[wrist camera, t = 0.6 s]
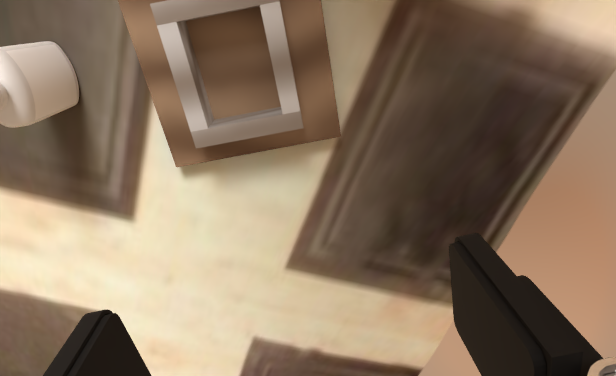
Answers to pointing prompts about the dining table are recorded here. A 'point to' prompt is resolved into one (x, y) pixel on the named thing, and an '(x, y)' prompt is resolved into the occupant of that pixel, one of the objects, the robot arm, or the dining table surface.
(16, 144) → the dining table surface
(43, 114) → the eye dropper bottle
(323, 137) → the bottle stand
